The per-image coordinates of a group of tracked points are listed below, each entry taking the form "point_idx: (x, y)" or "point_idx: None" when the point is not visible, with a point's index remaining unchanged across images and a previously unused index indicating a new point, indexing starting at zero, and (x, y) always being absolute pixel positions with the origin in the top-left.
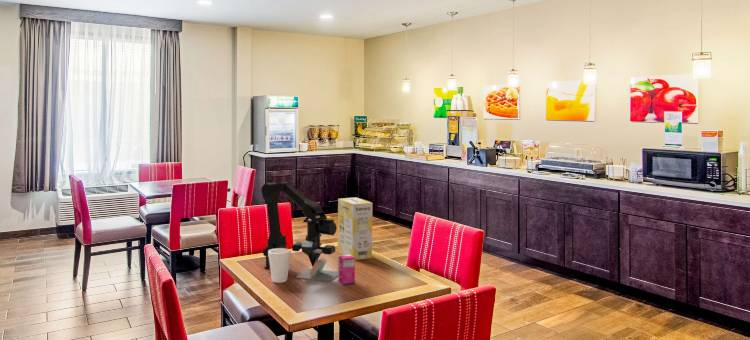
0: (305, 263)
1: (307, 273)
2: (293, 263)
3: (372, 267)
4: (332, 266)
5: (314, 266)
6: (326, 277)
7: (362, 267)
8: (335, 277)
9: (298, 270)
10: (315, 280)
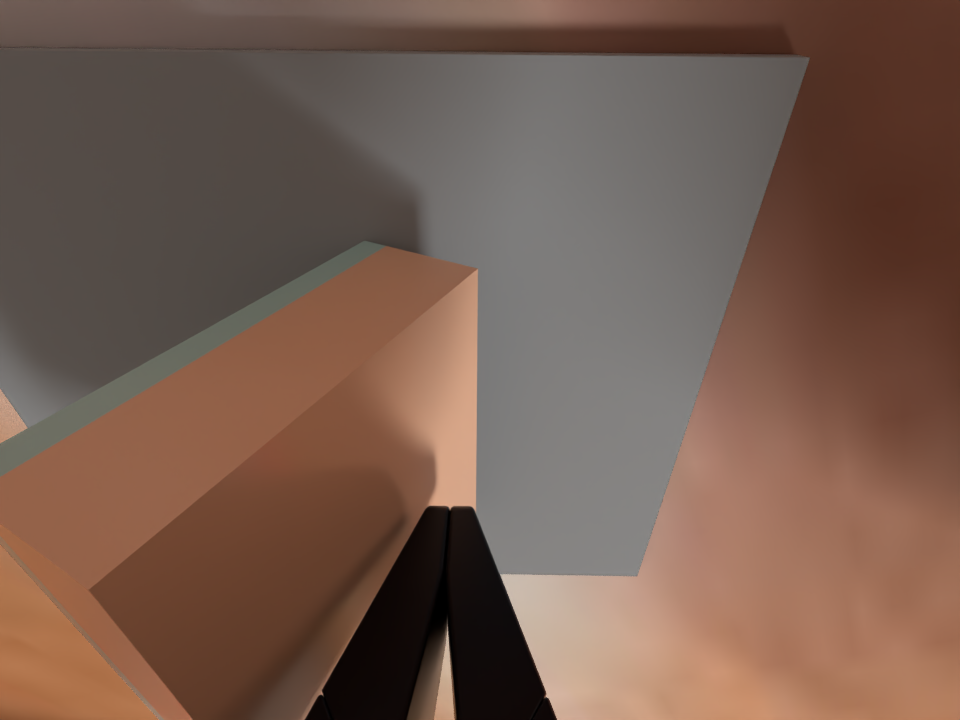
0: (742, 682)
1: (592, 401)
2: (896, 662)
3: (32, 717)
4: None
5: (239, 413)
6: (105, 306)
7: (109, 704)
8: (6, 378)
9: (798, 502)
10: (202, 51)
